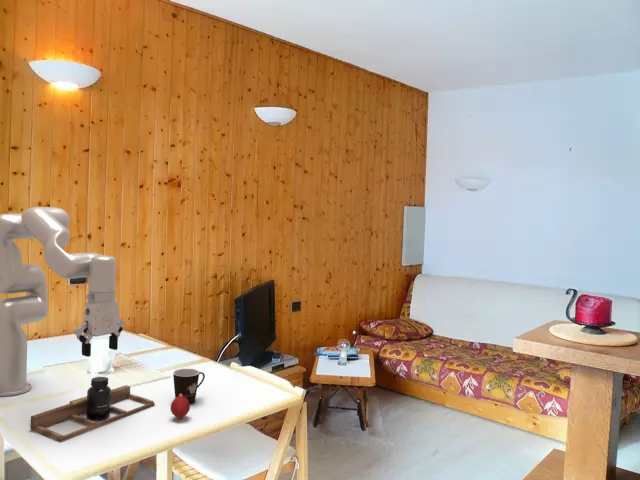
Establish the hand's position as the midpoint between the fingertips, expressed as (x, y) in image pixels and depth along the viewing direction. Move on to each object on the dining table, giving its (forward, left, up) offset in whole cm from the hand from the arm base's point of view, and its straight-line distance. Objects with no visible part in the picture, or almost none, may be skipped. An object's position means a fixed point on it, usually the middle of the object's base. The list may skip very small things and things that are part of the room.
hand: (99, 352), depth 166 cm
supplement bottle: (0, 0, -20) cm, 20 cm away
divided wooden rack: (0, 0, -20) cm, 20 cm away
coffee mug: (+12, +27, -20) cm, 36 cm away
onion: (+20, +14, -20) cm, 32 cm away
